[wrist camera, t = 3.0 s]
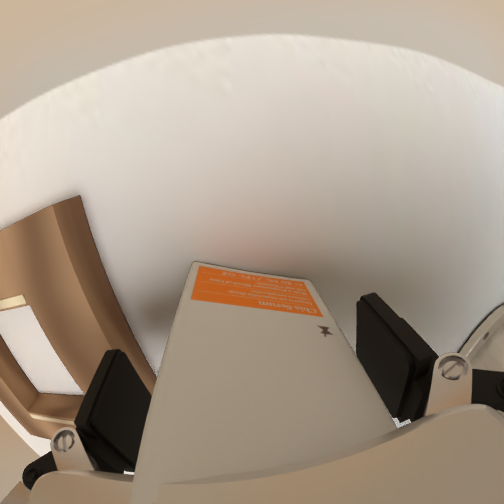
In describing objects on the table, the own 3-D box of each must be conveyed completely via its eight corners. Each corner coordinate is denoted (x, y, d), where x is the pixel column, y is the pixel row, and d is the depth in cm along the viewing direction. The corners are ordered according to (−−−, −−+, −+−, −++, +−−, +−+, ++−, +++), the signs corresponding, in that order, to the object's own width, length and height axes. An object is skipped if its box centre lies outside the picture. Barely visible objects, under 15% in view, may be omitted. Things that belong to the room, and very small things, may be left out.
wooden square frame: (79, 195, 11) (51, 205, 9) (187, 425, 17) (184, 452, 14) (-51, 264, 11) (-70, 276, 8) (38, 417, 17) (30, 435, 14)
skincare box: (311, 276, 14) (449, 504, 2) (289, 343, 15) (355, 550, 4) (188, 256, 13) (116, 551, 1) (180, 329, 14) (146, 561, 3)
